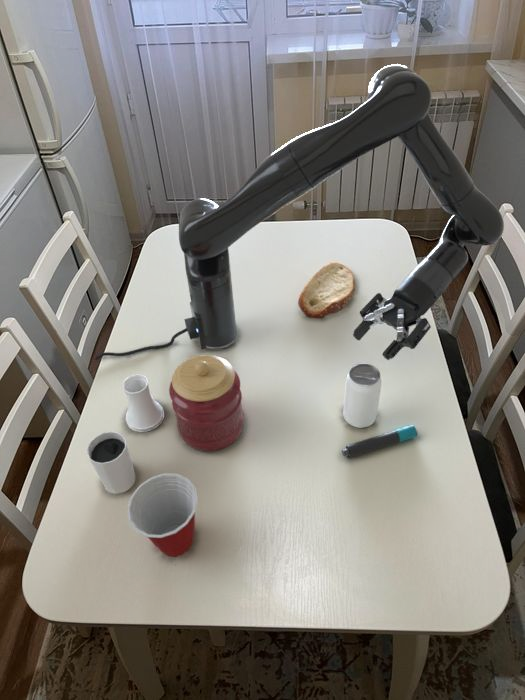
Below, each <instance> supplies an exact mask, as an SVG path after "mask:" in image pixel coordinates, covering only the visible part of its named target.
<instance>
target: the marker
mask: <svg viewBox="0 0 525 700" xmlns="http://www.w3.org/2000/svg"><path fill="white" fill-rule="evenodd" d="M417 437H418V431H417V428H416V427H415V425H413V424H410V425H406V426H402V427H400V428H397V429H394V430H392V431H391V430H390V431H387V432H385V433H382V434H379V435H375V436H372V437H369V438H366V439H362V440H359V441H356V442H353V443H350V444H347V445H345V449H342V450H341V454H342V456H343V457H347V456H348V458H349V459H351V458H355V457H357V456H360V455H363V454H366V453H370V452H372V451H376V450H379V449H381V448H386V447H388V446H392V445H395V444H398V443H402V442H405V441H408V440H411V439H414V438H417Z"/></svg>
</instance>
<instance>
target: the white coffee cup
mask: <svg viewBox="0 0 525 700" xmlns="http://www.w3.org/2000/svg"><path fill="white" fill-rule="evenodd" d="M86 455H87V457H88V459H89V460H90V463H91V465H92V467H93V468H94V471H95V472H96V474H97V476H98V477H99V479H100V482H101V483H102V485H103V487H104V489H105V491H107V492H108V493H110V494H113V495H118V494H124V493H125V492H127V491H129V490H130V489H131V488H132V487H133V486H134V484H135V481H136V472H135V468H134V465H133V461H132V458H131V453H130V450H129V447H128V444H127V440H126V438H125V436H124V435H122V434H121V433H120V432H116V431H106V432H101V433H99V434H97V435H95V437H93V438H92V439H91V440H90V442H89V443H88V444H87V447H86Z"/></svg>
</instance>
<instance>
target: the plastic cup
mask: <svg viewBox="0 0 525 700" xmlns="http://www.w3.org/2000/svg"><path fill="white" fill-rule="evenodd" d="M198 500H199V498H198V494H197V489H196V486H195V485H194V484H193V483H192V481H191V480H190V479H189V478H188V477H186V476H184V475H181V474H179V473H172V472H171V473H170V472H169V473H168V472H167V473H166V472H164V473H160V474H157V475H154V476H151V477H150V478H148V479H146V480H145V481H144V482H142V483H140V484H139V485H138V487H137V488H136V489H135V491H134V492H133V493H132V494H131V496H130V498H129V501H128V505H127V508H126V513H127V520H128V523H129V524H130V526H131V527H132V528H133V530H134V531H135V532H137V533H138V534H140V535H142V536H144V537H146V538H148V539H149V540H150V542H151V543H152V544H153V545H154V546H155V547H156V548H157V549H158V550H159V551H160V553H162V554H164V555H165V556H168V557H175V558H176V557H179V556H182V555H184V554H185V553H186V552H188V551H189V549H190V548H191V546H192V545H193V542H194V537H195V535H194V534H195V523H196V521H195V520H196V509H197V505H198Z"/></svg>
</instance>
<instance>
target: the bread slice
mask: <svg viewBox="0 0 525 700" xmlns="http://www.w3.org/2000/svg"><path fill="white" fill-rule="evenodd" d="M355 281H356V280H355V275H354V274H353V271H352V270H351V269H350V268H349V267H347V266H346V265H345V264H343V263H340V262H336V261H335V262H334V261H331V262H328V263H327V264H325V265H324V266H322V267H321V269H319V270H318V271H317V272H316V273H315V274H314V275H313V276H312V277H311V279H309V281H308V282H307V283H306V284H305V286H303V289H302V291H301V293H300V294H299V297H298V299H297V304H298V307H299V309H300V310H301V312H302V313H303V314H304V315H305V316H306V318H308V319H316V320H317V319H318V320H319V319H320V320H321V319H324V318H325V317H327V316H329V315H332V314H336V313H338V312H340V311H342V310H343V309H345V308H346V306H347V305H348V304H349V303H350V301H351V300H352V299H353V297H354V293H355V291H356V282H355Z"/></svg>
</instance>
